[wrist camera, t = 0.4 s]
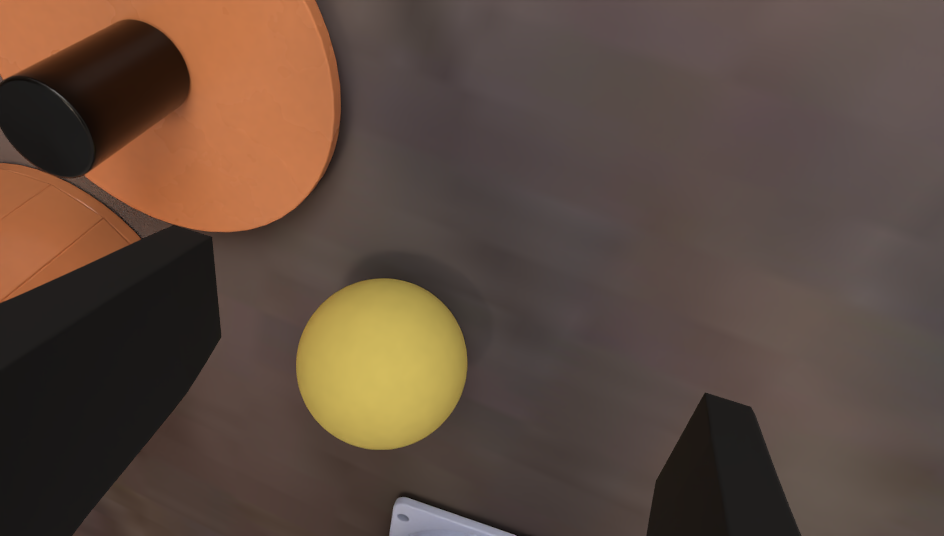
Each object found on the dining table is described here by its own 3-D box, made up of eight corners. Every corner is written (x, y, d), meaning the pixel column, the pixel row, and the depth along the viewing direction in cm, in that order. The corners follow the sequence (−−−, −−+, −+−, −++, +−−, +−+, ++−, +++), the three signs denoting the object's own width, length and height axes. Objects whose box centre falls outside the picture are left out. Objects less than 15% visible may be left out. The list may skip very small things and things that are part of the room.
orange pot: (196, 400, 31) (95, 531, 26) (-10, 329, 32) (-144, 442, 27) (168, 208, 25) (26, 335, 20) (-90, 129, 26) (-285, 229, 21)
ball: (473, 383, 26) (426, 507, 22) (337, 339, 26) (266, 452, 22) (498, 273, 22) (448, 395, 18) (342, 225, 23) (260, 334, 19)
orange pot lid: (343, 253, 24) (266, 361, 20) (46, 162, 25) (-81, 246, 21) (360, -116, 16) (246, -62, 13) (-56, -217, 18) (-275, -195, 14)
